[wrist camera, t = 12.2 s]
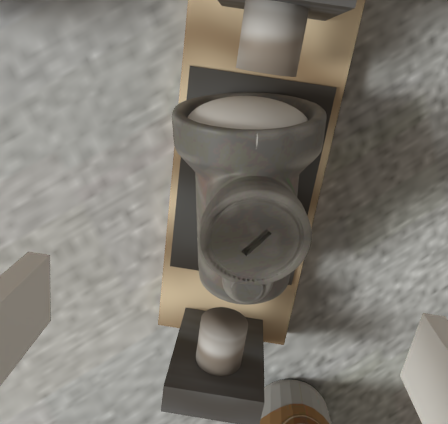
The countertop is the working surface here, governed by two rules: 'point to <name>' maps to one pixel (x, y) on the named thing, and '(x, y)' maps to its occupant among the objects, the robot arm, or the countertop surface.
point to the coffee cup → (293, 404)
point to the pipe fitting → (249, 187)
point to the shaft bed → (186, 188)
